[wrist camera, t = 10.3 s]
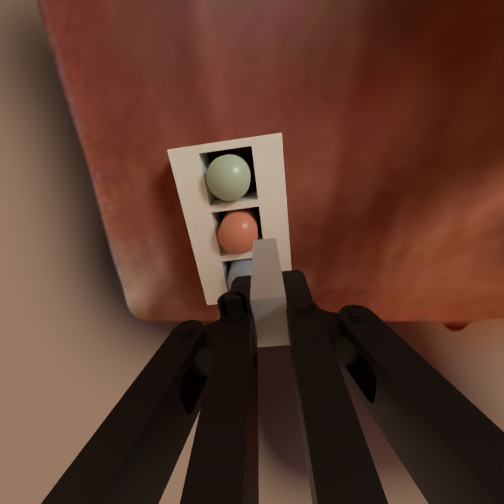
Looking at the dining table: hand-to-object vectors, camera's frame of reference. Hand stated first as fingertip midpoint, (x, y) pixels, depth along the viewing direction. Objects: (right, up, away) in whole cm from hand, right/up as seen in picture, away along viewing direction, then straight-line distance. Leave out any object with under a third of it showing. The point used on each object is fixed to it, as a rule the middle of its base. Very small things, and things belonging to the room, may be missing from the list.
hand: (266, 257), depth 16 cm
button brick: (-3, +5, +16) cm, 17 cm away
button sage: (-3, +10, +14) cm, 18 cm away
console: (-3, +5, +17) cm, 17 cm away
